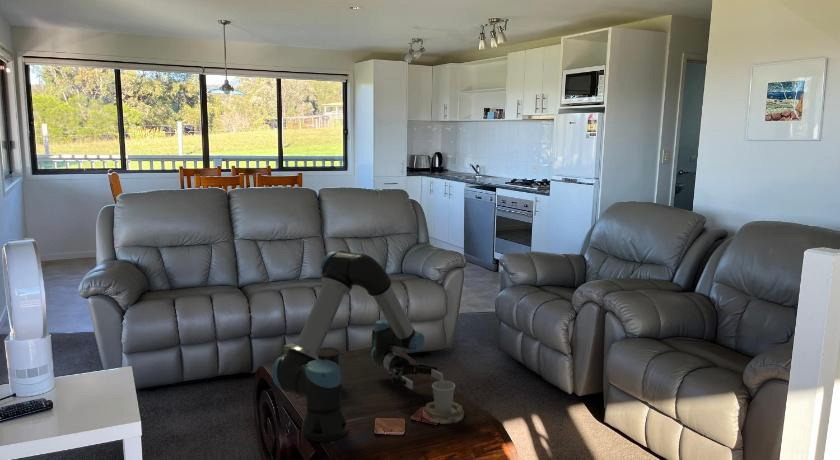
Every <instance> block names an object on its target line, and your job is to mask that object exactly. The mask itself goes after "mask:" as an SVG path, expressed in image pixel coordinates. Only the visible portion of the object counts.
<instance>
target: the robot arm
mask: <svg viewBox="0 0 840 460" xmlns="http://www.w3.org/2000/svg"><path fill="white" fill-rule="evenodd" d="M320 274H321V279H320V280H321V283H322V287H321V289H320V291H319V292H318V295H317V298H316V300H315V302H314V303H313V307H312V308H311V310H310V313H309V315H308V317H307V320H306V321H305V323H304V326H303V328H302V330H301V332H300V334H299V336H298V339H297V340H296V343H295V344H296V345H295V346H294V347H291V348H289V350H288V352H287V354H286V355H284V354H283V355H280V356H279V357H278V358H276V360H275V362H274V363H273V366H272V371H271V377H272V382H273V383H274V385H275V386H276V387H277V388H278V389H280V390H282V391H284V392H286V393H290V394H294V395H296V396H299V397H301V398H304V399H306V401H305V402H306V412H305V415H304V417H303V420H302V424H301V436H302V438H305V439H306V440H309V441H311V442H318V443H319V442H320V443H321V442H322V443H323V442H331V441H335V440H338V439H340V438H342V437H343V436H345V435H346V434H347V432H348V422H347V419H346V417H345V414H344V412H343V411H344V410H343V409H342V395H343V394H342V388H343V387H342V385H343V384H342V380H343V379H342V372H341V366H340V367H339V366H338V365H337V364H336V363H335V362H332V361H330V360H322V359H319V358H318V353H319V351H320V349H321V348H322V346H323V344H324V342H325V340H326V338H327V335H328V333H329V331H330V328H331V326H332V324H333V321H334V318H336V314H337V312H338V310H339V308H340V305H341V304H342V300H343V299H344V296H345V295H347V294H348V293H351V292H352V289H353V287H354V286H358V287H360V288H363V289H364V290H365V292H367V294H368V295H369V296H371V297H372V298H373V300H374V301H375V302H376V304H377V305H378V308H379V310H380V311H381V312H382V314H383V316H384V318H382V319H379V320H377V321H376V322H375V326H374V327H375V328H374V329H375V347H374V348H373V349H372V348H371V352H370V358H371V360H372V361H373V362H374V363H375V364H376V365H378V366H380V367H382V368H383V369H385V370H387V371H388V375H389V376H390V377H391V378H390V379H391V382H392V384H393V385H395V384H397V385H398V386H401V385H403V386H405V387H406V388H408V389H410V390H413V389H414V381H413V380H411V379H409V378H407V377H406V376H407V375H418V374H420V375H429V376H431V377H432V378H434V379H436V380H437V381H444V374H443V373H442V372H440V371H438V366H436V365H431V364H426V363H421V362H418V361H416V362H415V364H413V363H410V361H409V360H408V359H407V358H406V357H405V356H402V355H400V354H398V353H396V352H394V347H396V348H400V349H404V350H408V351H413V352H420V351H421V350H422V349H423V347H424V344H425V336H424V334H423V333H421V332H419V331H416V330H415V328H414V326H413V325H412V322H411V321H410V319H409V318H408V316H407V313H406V311H405V310H404V308H403V306H402V304H401V302H400V300H399V299H398V297H397V295H396V293H395V291H394V289H393V288H392V281H391V280H392V279H391V278H390V276H389V275H388V273H387V272H386V270H385V269H384V267H382V265H381V264H380V263H379V262H378V261H377V260H376V259H374V258H373V257H372V256H370V255H368V254H364V253H356V252H350V251H345V250H333V251H330V252H329V253H327V254H326V255H325V256H324V258H323V259H322V261H321V263H320ZM405 375H406V376H405Z"/></svg>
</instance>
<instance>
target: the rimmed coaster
mask: <svg viewBox="0 0 840 460" xmlns="http://www.w3.org/2000/svg"><path fill="white" fill-rule="evenodd" d="M424 408H425V409H424ZM424 408H423V409H424V412H426V413H427V414H428V415H429V416H430V417H432V418H433V419H439V420H438V421H439V422H440V424H439V425H449V424H451V425H452V424H455V423H459V422H460V421H462V420H464V417H465V410H464V408H463V406H462V405H461V404H459V403H458V402H455V401H454V400H453V402H452V409H451V413H450V414H437V413H434V412H432V411H431V410H429V409H430V408H431V409H435V405H434V400H433V401H430V402H427V403H426V405H425V406H424Z"/></svg>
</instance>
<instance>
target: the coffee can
mask: <svg viewBox="0 0 840 460" xmlns="http://www.w3.org/2000/svg"><path fill="white" fill-rule="evenodd" d="M340 354H341V353H340V350H339V348H335V347H321V349H320V351H319V353H318V358H319V359H322V360H330V361H332V362H335V363H336V364H337V365H338V366H339V367H340V368H341V366H340V362H341V361H340Z"/></svg>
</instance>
